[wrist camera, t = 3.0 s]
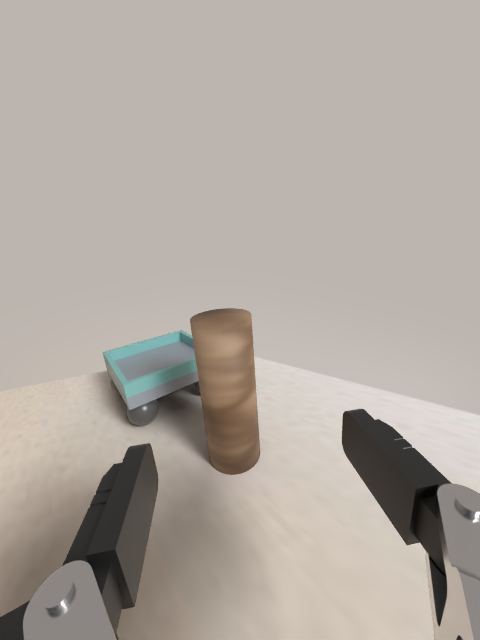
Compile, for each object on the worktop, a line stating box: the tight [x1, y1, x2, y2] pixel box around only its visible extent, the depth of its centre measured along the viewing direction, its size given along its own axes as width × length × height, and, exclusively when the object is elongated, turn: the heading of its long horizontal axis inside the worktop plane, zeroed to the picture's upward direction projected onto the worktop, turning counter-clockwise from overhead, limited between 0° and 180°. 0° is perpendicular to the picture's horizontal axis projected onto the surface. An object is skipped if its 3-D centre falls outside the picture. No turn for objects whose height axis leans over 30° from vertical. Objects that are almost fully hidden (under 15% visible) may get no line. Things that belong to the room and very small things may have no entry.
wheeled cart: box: [103, 330, 200, 426], centre depth 34 cm, size 12×12×6 cm
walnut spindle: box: [190, 309, 260, 475], centre depth 22 cm, size 5×5×14 cm
